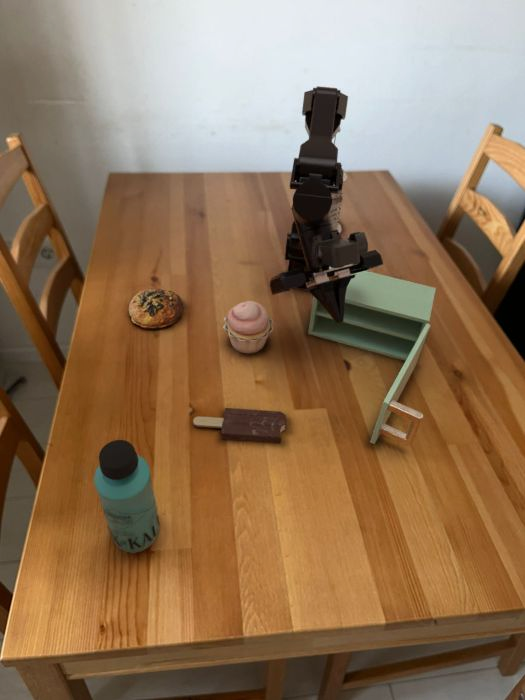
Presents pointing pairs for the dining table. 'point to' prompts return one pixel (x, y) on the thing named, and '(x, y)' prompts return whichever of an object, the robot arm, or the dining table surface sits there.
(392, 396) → the fridge door
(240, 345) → the cupcake
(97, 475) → the beverage bottle
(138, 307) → the bread roll
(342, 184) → the robot arm
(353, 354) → the dining table surface
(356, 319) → the fridge
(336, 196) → the french press
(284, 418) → the ice cream bar
